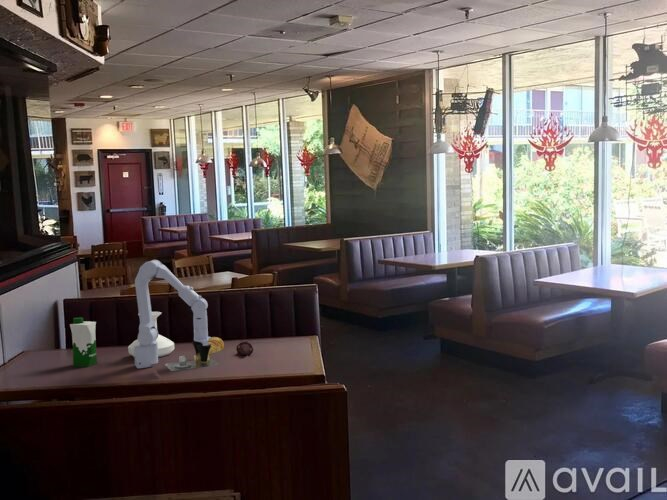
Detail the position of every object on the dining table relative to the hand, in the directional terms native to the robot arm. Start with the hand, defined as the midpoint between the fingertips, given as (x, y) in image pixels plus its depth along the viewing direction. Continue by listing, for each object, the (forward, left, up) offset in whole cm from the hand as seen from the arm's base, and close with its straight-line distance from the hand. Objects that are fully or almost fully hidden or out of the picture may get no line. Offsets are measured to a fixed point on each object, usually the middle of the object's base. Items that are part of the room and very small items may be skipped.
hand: (202, 359), depth 285 cm
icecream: (+20, +4, -2) cm, 20 cm away
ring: (0, 0, -1) cm, 1 cm away
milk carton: (-44, +26, -2) cm, 51 cm away
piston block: (-5, -4, -2) cm, 6 cm away
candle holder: (-16, +26, -2) cm, 31 cm away
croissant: (+10, +21, -2) cm, 24 cm away
